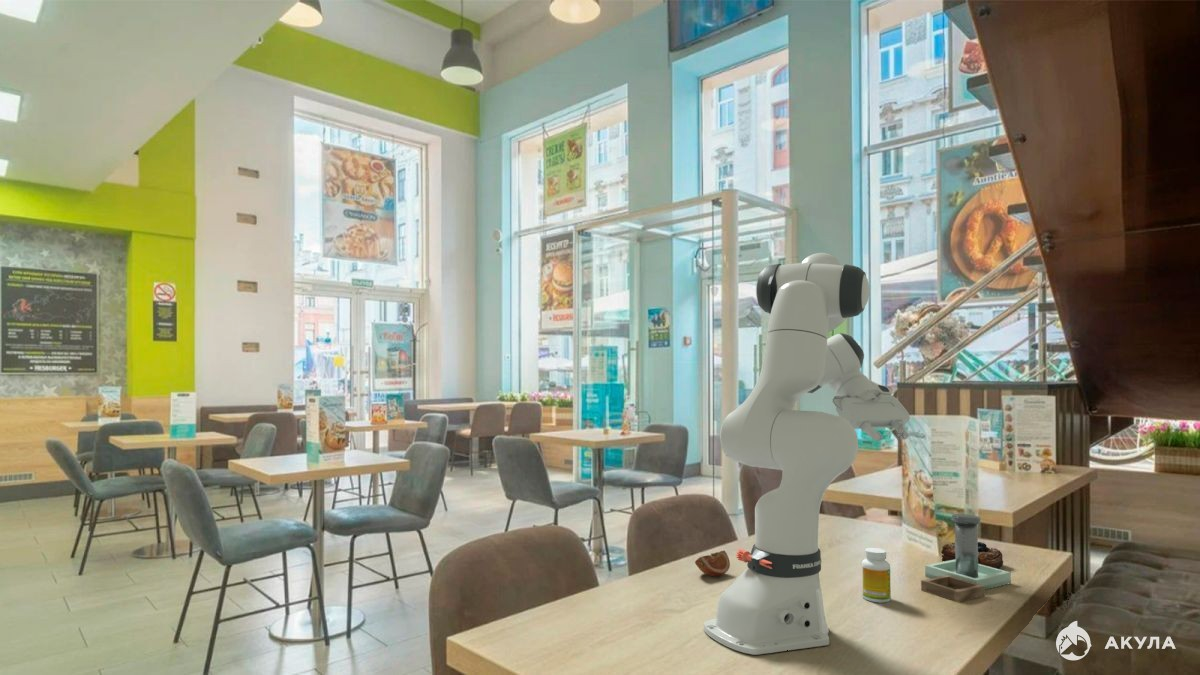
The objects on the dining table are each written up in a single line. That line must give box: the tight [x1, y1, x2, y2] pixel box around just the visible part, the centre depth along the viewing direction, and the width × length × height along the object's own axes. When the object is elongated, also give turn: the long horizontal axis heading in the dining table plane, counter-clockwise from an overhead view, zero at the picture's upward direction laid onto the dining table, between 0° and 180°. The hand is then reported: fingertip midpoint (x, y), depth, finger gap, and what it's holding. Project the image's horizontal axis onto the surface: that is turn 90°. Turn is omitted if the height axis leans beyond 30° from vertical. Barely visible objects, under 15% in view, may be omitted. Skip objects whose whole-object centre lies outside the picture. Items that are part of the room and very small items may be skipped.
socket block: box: [920, 575, 985, 603], centre depth 142 cm, size 8×8×2 cm
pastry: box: [940, 541, 1004, 569], centre depth 163 cm, size 11×12×6 cm
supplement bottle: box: [861, 547, 891, 604], centre depth 138 cm, size 5×5×10 cm
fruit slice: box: [694, 550, 731, 577], centre depth 153 cm, size 8×7×5 cm
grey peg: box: [951, 513, 981, 578], centre depth 151 cm, size 6×6×13 cm
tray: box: [924, 559, 1012, 591], centre depth 151 cm, size 12×12×2 cm
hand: (892, 438), depth 163 cm, fingers open, 8 cm apart
